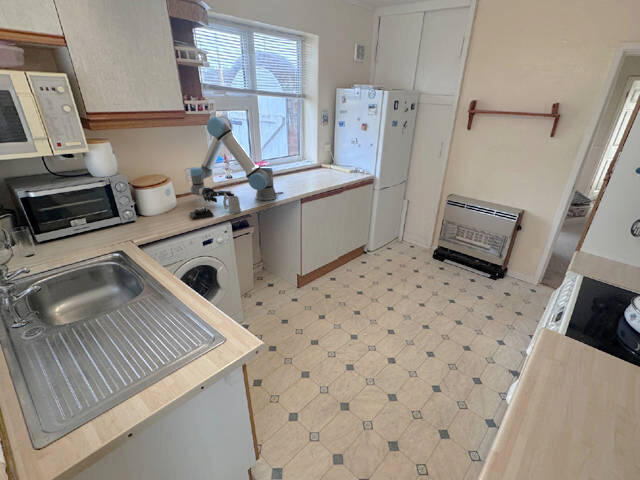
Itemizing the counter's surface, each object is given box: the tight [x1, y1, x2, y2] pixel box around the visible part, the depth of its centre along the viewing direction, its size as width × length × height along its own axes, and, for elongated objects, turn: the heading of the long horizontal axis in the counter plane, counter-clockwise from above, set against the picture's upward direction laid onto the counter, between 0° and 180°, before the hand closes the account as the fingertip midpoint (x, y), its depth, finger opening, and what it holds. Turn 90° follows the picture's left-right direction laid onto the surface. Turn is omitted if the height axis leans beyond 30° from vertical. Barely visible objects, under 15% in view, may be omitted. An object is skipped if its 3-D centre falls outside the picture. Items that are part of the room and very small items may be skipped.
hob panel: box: [189, 207, 214, 221], centre depth 202 cm, size 12×10×4 cm
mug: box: [222, 193, 242, 214], centre depth 210 cm, size 8×12×12 cm, turn 75°
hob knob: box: [196, 206, 205, 211], centre depth 201 cm, size 4×4×2 cm
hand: (225, 198), depth 214 cm, fingers open, 13 cm apart
